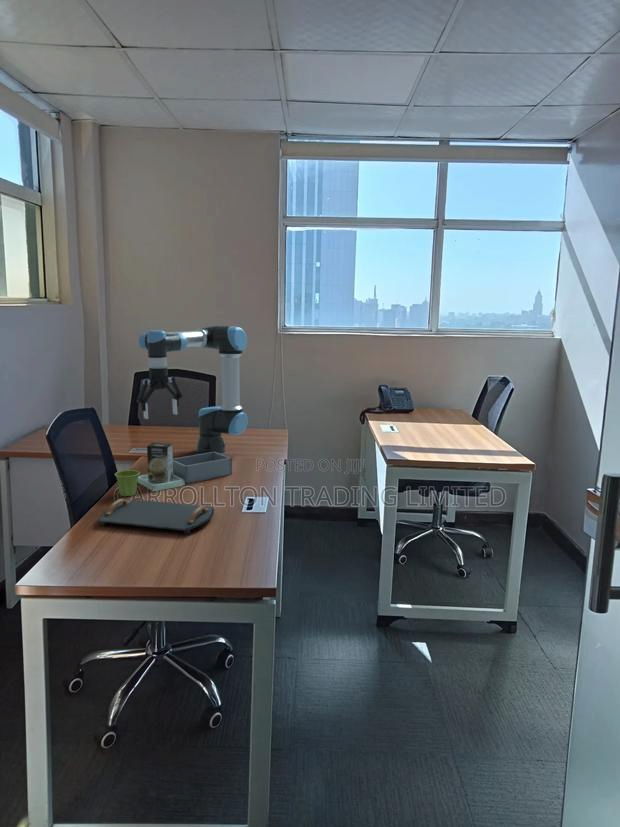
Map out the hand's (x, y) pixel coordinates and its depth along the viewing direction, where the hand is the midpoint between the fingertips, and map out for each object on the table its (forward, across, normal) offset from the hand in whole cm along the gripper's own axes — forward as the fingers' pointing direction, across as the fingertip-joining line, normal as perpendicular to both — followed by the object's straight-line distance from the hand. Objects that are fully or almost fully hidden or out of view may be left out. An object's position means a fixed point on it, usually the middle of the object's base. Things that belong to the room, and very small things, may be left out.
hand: (160, 416), depth 245 cm
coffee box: (+26, +6, +8) cm, 28 cm away
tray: (+27, +6, +8) cm, 29 cm away
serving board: (+27, +26, +46) cm, 60 cm away
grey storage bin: (+28, -14, +8) cm, 32 cm away
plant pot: (+27, +22, +13) cm, 37 cm away
